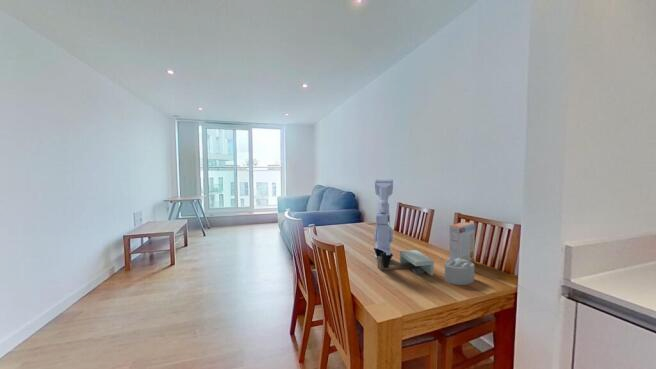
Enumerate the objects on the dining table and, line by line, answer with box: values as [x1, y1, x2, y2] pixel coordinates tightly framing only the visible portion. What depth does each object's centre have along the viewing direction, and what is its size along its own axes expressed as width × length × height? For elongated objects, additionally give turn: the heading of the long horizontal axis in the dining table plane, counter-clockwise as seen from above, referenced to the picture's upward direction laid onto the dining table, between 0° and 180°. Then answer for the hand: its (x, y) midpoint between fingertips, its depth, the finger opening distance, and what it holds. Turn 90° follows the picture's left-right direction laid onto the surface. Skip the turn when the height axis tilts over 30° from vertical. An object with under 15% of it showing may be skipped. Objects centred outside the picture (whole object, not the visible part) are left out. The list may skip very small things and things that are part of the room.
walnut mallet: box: [377, 256, 418, 272], centre depth 130 cm, size 4×20×6 cm, turn 100°
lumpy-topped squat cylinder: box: [444, 257, 475, 286], centre depth 116 cm, size 10×13×9 cm
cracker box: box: [449, 221, 476, 264], centre depth 135 cm, size 14×6×21 cm, turn 122°
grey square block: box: [411, 267, 425, 275], centre depth 124 cm, size 4×4×2 cm
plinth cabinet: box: [399, 249, 435, 276], centre depth 127 cm, size 16×9×7 cm, turn 10°
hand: (382, 264), depth 129 cm, fingers open, 7 cm apart
